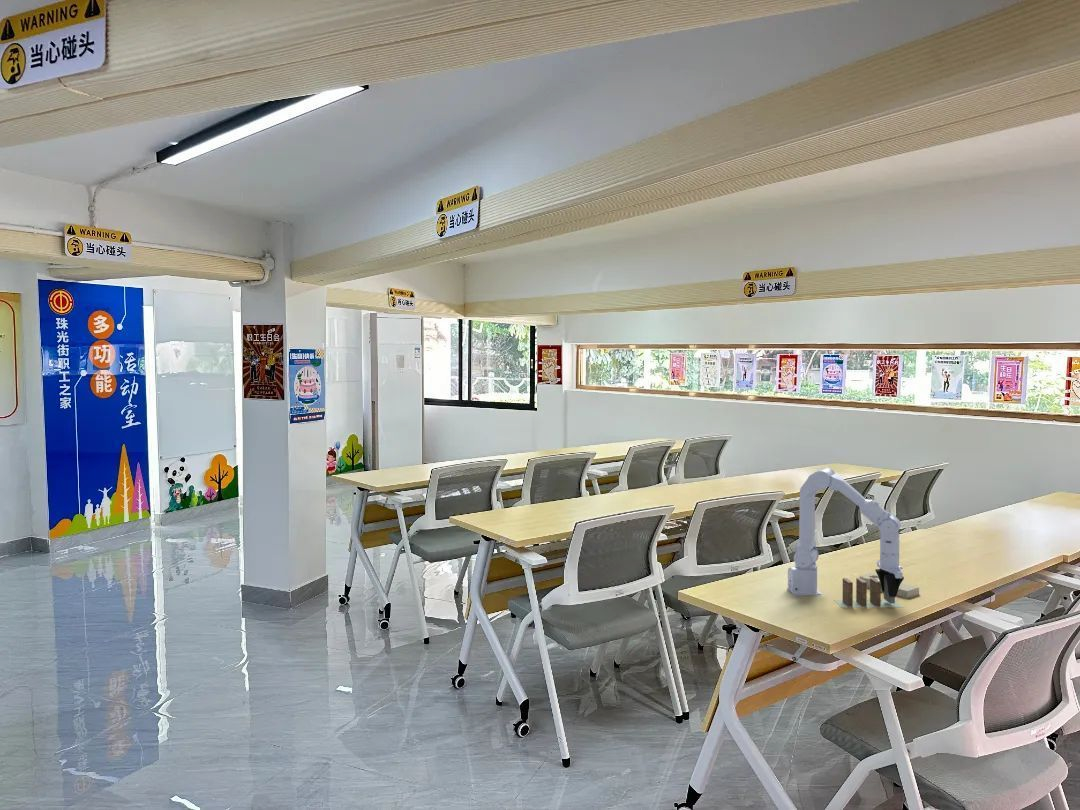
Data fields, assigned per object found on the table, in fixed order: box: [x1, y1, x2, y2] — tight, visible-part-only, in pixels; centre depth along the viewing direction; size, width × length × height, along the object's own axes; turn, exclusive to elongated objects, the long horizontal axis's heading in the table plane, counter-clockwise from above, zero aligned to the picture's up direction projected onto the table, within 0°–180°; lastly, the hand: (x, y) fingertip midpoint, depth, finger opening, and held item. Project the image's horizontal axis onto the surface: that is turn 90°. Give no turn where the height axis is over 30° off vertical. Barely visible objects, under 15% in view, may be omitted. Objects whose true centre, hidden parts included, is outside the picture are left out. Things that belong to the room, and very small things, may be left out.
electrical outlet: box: [858, 572, 920, 599], centre depth 256 cm, size 7×4×18 cm
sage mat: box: [833, 599, 904, 608], centre depth 241 cm, size 20×7×1 cm, turn 88°
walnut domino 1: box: [842, 577, 854, 608], centre depth 241 cm, size 1×5×8 cm, turn 178°
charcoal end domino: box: [883, 577, 896, 604], centre depth 240 cm, size 1×5×8 cm, turn 178°
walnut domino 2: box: [855, 577, 868, 608], centre depth 241 cm, size 1×5×8 cm, turn 178°
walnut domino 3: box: [869, 578, 882, 608], centre depth 241 cm, size 1×5×8 cm, turn 178°
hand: (889, 593), depth 241 cm, fingers closed on charcoal end domino, 5 cm apart
